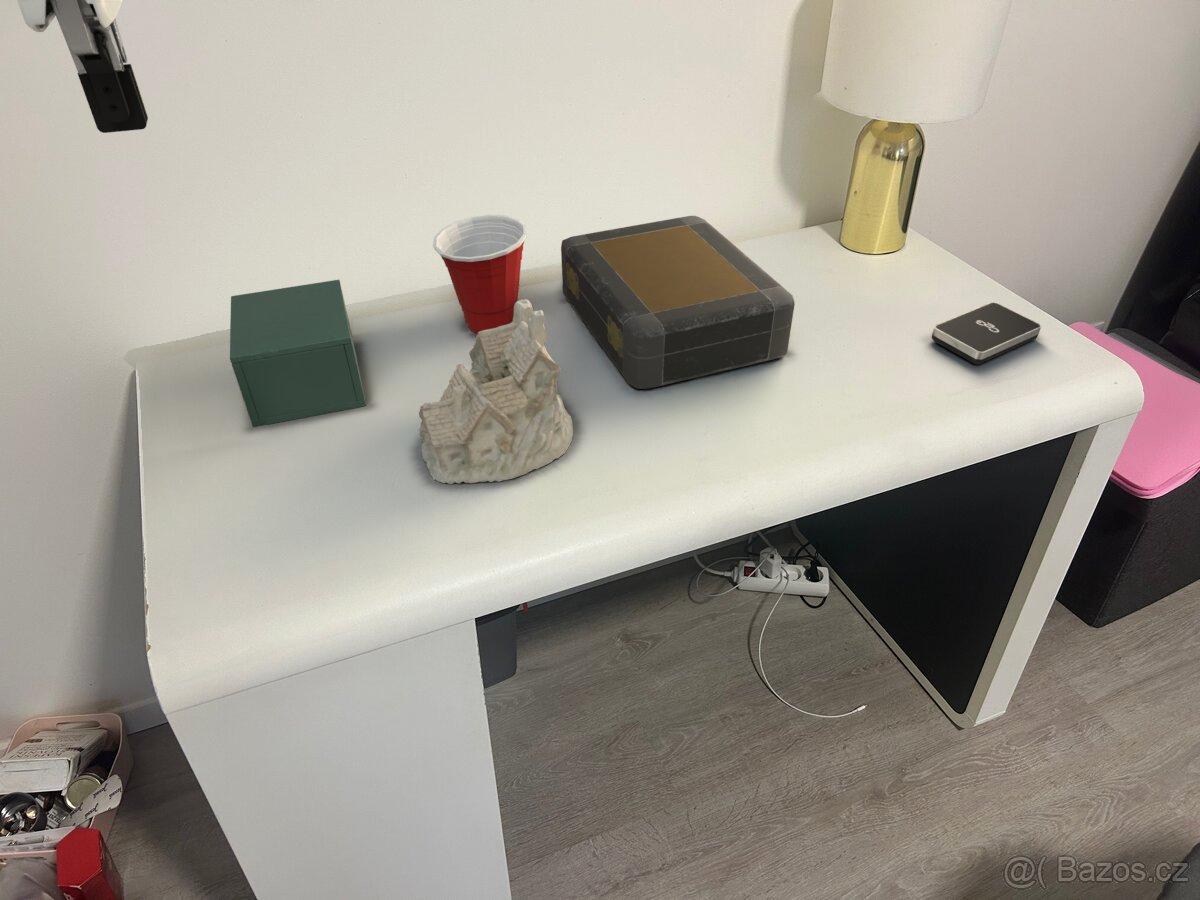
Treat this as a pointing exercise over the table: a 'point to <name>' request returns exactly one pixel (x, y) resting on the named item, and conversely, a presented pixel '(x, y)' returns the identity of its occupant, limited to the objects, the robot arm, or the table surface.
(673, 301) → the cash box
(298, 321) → the lid
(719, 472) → the table surface
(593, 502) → the table surface
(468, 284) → the plastic cup
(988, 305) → the external hard drive
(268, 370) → the tin
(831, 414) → the table surface
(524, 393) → the ceramic cottage
